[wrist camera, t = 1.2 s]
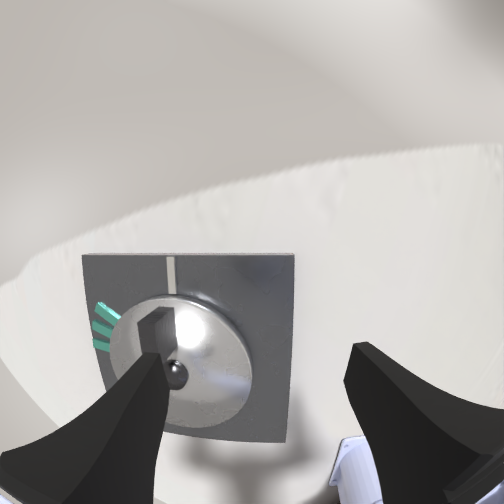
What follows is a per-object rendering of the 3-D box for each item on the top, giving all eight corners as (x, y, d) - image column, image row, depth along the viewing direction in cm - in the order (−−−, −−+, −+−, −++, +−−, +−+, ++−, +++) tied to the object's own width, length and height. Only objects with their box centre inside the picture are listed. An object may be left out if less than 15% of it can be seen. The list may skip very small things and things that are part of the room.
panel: (284, 434, 22) (285, 444, 21) (120, 413, 23) (114, 421, 22) (293, 253, 20) (294, 255, 19) (89, 253, 22) (79, 255, 20)
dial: (253, 422, 21) (248, 461, 16) (131, 406, 22) (109, 435, 17) (252, 297, 19) (245, 321, 14) (108, 290, 20) (72, 306, 15)
